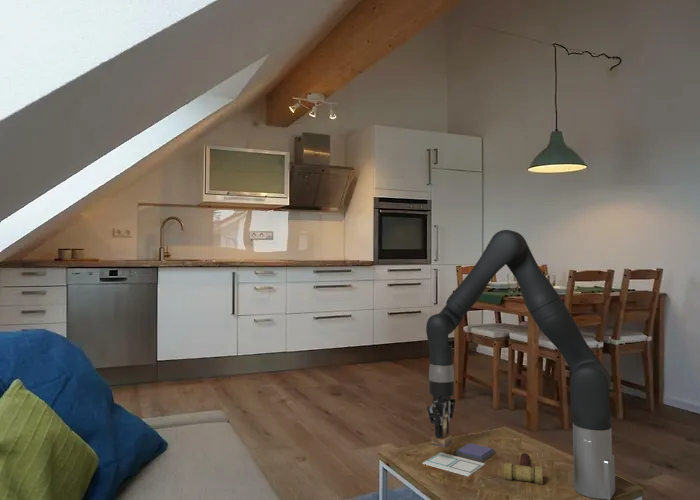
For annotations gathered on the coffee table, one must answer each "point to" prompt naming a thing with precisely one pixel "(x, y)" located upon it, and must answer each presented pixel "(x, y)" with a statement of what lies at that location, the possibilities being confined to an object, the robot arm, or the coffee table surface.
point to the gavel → (523, 471)
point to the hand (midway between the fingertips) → (442, 435)
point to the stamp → (445, 439)
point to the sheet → (454, 464)
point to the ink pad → (475, 452)
